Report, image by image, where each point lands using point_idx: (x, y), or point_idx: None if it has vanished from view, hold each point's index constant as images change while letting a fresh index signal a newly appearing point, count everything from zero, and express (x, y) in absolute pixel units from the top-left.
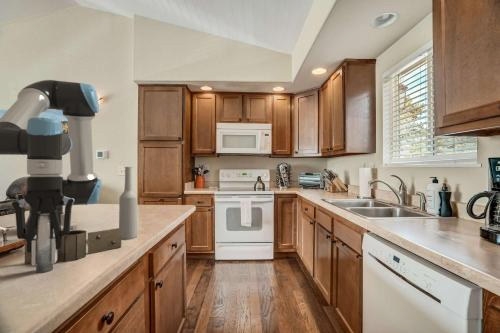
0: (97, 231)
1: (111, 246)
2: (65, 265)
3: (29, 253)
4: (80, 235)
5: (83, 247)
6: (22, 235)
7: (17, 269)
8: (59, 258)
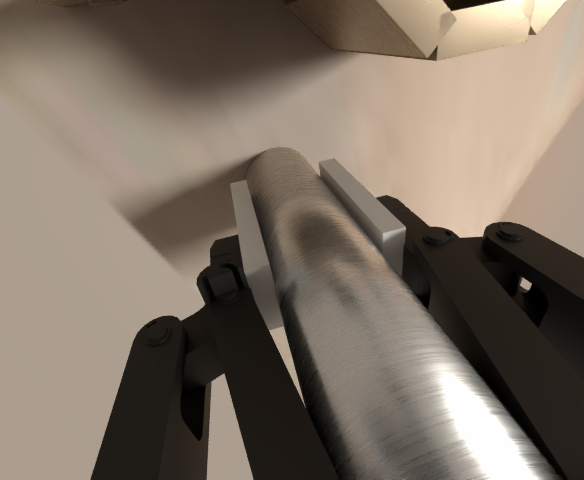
0: None
1: None
2: (353, 128)
3: None
4: None
5: None
6: (206, 392)
7: (115, 133)
8: (300, 16)
